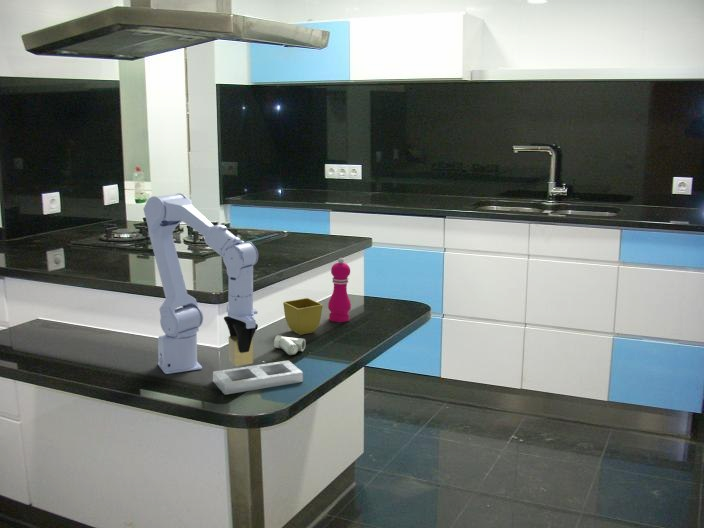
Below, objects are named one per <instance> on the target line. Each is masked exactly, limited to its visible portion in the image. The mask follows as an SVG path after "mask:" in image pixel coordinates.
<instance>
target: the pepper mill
mask: <svg viewBox="0 0 704 528" xmlns="http://www.w3.org/2000/svg"><path fill="white" fill-rule="evenodd" d="M337 261H338V262H337V263H334V264H333V265H332V266H331V269H330V272H331V273H330V274H331V275H332V276H333V277H332V280H331V281H332V284H333V290H332V294H331V296H330V298H329V301H328V304H327V305H328V306H327V308H328V310H329V311H330V313H329V317H328V318H329V321H331V322H335V323H346V322H348V321H349V320H350V314H349V312H350V311H351V309H352V304H351V300H350V297H349V295H348V291H347V286H348V283H349V276H350V274H351V268H350V266H349V265H348V264H347V263H346V262H345V260H344V258H343V257H339V258H338V260H337Z"/></svg>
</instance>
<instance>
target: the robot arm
mask: <svg viewBox="0 0 704 528" xmlns="http://www.w3.org/2000/svg"><path fill="white" fill-rule="evenodd" d="M192 201H193V200H192V199H190V198H188V197H187V196H186V194H184V193H180V192H179V193H175V194H169V195H159V196H156V195H155V196H151V197H149V198H148V199H147V201H146V203H145V204H144V206H143V214H144V217H145V220H146V224H147V229H148V231H147V232H148V236H149V240H150V243H151V247H152V251H153V254H154V255H153V256H154V259H155V262H156V266H157V269H158V273H159V278H160V281H161V285H162V291H163V293H164V297H165V300H164V301H163V303H162V304H161V306H160V307H159V309H158V311H159V312H160V318H159V319H160V322H159V323H160V327H161V330H162V331H163V333H164V335H159V336H158V339H157V356H158V357H157V358H158V362H157V365H158V366H159V368H160V370H162V372H163V374H165V375H169V374H176V373H183V372H190V371H197V370H202V369H203V366H202V365H201V364H200V362H198V344H197V343H198V340H197V339H198V337H197V333H198V332H199V331H200V330H199V328H200V327H201V326H202V325H203V322H204V313H203V311H202V310H201V308H200V307H199V304H198V302H197V301H198V300H197V299H196V298H195V297H194V296H192V295H190V294H189V293H188V291H187V287H186V284H185V280H184V275H183V271H182V268H181V264H180V261H179V260H180V259H179V257H178V253H177V252H178V251H177V249H176V245H175V240H174V237H173V233H174V231H175V229H176V227H178V226H179V225H180V223H182V222H183V223H184V224H186V225H188V226H189V227H190V228H192V229H193V230H195V231H196V232H198V233H199V234H201V235H202V236H203V237H204V242H205V244H206V245H207V246H208V247H209V248H211V249H212V250H213V251H214V252H216V253H217V255H219V256H220V257H222V261H223V264H224V266H225V267H226V275H227V276H228V279H227V280H228V293H227V294H228V298H227V299H228V301H227V302H228V303H227V304H226V312H227V316H224V317H223V320H224V322H225V324H226V326H227V328H228V331H229V336H236V335H237V339H238V347H239V351H240V353H244V352H249V349H250V345H251V341H252V339H253V338H254V335H255V333H256V331H257V330H258V328H259V324H257V321H256V319H255V316H254V315H257V314H258V310H257V309H255V308H254V265H256V264H257V263H258V260H259V251H258V249H257V247H256V246H255V245H254V243H253V242H252V241H244V240H241V238H240V237H238V236H236V235H234V233H232V232H231V231H229V230H228V227H227V226H225V225H224V224H222V225H221V224H216V225H215V224H213V223H212V222H211V221H210V220H209V219H207V217H205V216H204V215H203V214H202V213H201V212H200V211H199V210H198V209H197V208H196V207H194V205H193V202H192Z"/></svg>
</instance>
